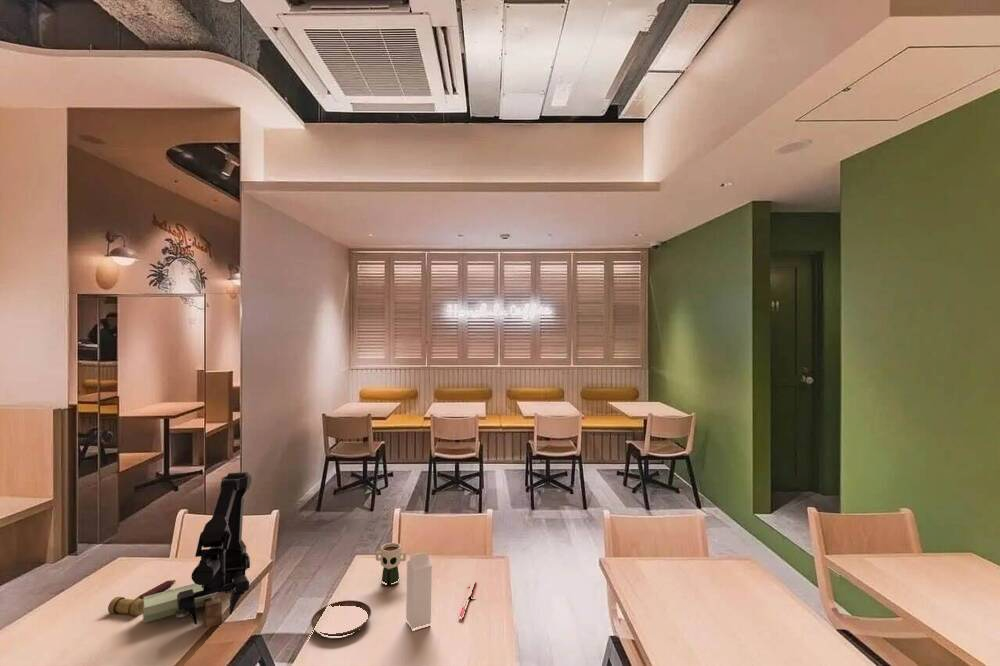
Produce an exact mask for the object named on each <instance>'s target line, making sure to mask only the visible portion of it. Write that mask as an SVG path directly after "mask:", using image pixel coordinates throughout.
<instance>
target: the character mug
mask: <svg viewBox="0 0 1000 666" xmlns="http://www.w3.org/2000/svg"><path fill="white" fill-rule="evenodd" d="M379 555H380V557H379ZM401 556H402V557H401ZM406 560H407V552H406V551H402V546H401V544H400V543H398V542H387V543H385V544H383V545H381V547H380V551H376V552H375V561H380V565H381V566H382V567H383V569H382V575H381V582H382V581H383V582H385V583H387V584H390V583H394V582H396V581H398V579H399V580H400V573H399V565H400V564H401V562H405V561H406Z"/></svg>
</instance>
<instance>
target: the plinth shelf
mask: <svg viewBox="0 0 1000 666" xmlns="http://www.w3.org/2000/svg"><path fill="white" fill-rule="evenodd" d="M190 589H193V593H195V592H199V591H203V588H202V585H198V584H196V583H191V584H188V585H183V586H180V587H177V588H173V589H167V590H164V591H163V592H160V593H156V594H153V595H149V596H145V597H143V613H142V621H143V624H145V623H149V622H152V621H157V620H159V619H163V618H167V617H169V616H174V615H176V614H175V613H176V612H177V611H178V610H180V609H178V605H177V595H178V593H179V592H182V591H186V590H190ZM211 597H212V598H214V597H215V594H213V595H210V596H206V597H203V598H199V599H196V600H194V603H195V607H196V609H197V608H201V607H204V604H205V599H208V598H211Z"/></svg>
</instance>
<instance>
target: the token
mask: <svg viewBox="0 0 1000 666" xmlns="http://www.w3.org/2000/svg"><path fill="white" fill-rule="evenodd" d="M174 615H175V619H176V620H177V621H178V620H184V619H187V618H188V617H190V616H191V614H190V613H189V611H188V610H186V611H184V610H183V609H180V610H178V611H177V612H176V613H175V614H174Z"/></svg>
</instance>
